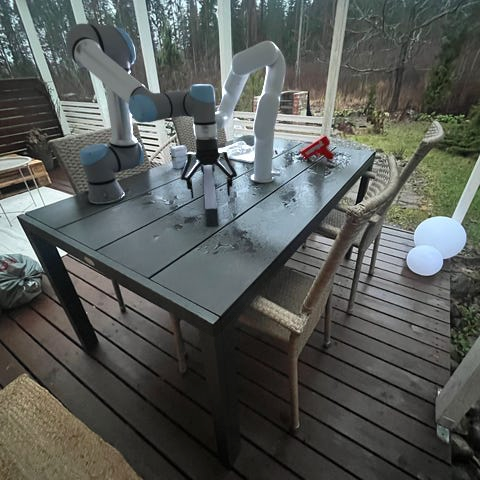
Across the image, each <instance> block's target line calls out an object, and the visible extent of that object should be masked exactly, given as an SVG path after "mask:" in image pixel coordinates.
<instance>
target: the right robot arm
mask: <svg viewBox="0 0 480 480" xmlns="http://www.w3.org/2000/svg"><path fill="white" fill-rule="evenodd" d="M285 59H286V58H285V57H284V55H283V53H282V51H281V50H280V49H279V47H278V46H277V45H276V44H275V43H274V42H273V41H271V40H264V41H261V42H258V43H257V44H254V45H253V46H250V47H248V48H246V49H244V50H242V51H240V52H237V53H235V54H234V55H233V57H232V58H231V61H230V70H229V72H228V74H227V77H226V80H225V82H224V84H223V86H222V98H221V100H220V103H219V106H218V108H217V109H216V110H217V111H216V124H217V131H219V130H222V129H224V128H225V127H226V126H227V124H229V122H230V120H231V117H232V115H233V114H234V111H235V108H236V106H237V103H238V101H239V100H240V97H241V94H242V92H243V91H244V88H245V85H246V83H247V81H248V79H249V77H250V74H252V73H255V72H256V71H258V70H259V71H260V70H261V69H263V68H265V69H266V73H265V78H264V85H263V87H262V88H263V89H262V93H261V95H260V96H259V99H258V101H257V105H256V111H255V117H254V122H253V126H252V130H253V131H252V132H253V135H254V145H253V146H254V162H253V174H252V175H251V176H250V180H251V181H252V182H255V183H260V184H267V183H271V182H274V180H275V177H281V174H282V173H281V172H278V171H273V159H274V158H273V155H274V152H273V151H274V140H275V129H276V128H275V127H276V122H277V119H278V115H279V111H280V106H281V97H282V92H283V88H284V83H285V78H286V71H287V65H286V60H285ZM194 137H195V136H194ZM196 138H197V137H195V139H196ZM195 139H194V140H195ZM218 160H219V162H220V161H222V160H221V158H220V157H219V158H218ZM197 161H198V159H197V158H196V157H194V158H193V162H194V163H195V164H196V163H197ZM215 166H217V165H216V164H213V165H212V170H213V175H214V173H215V172H216V171H215V170H216V169H215ZM199 168H200V171H201V173H202V175H204V168H203V165H201V166H200V167H199Z"/></svg>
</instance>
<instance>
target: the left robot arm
mask: <svg viewBox="0 0 480 480" xmlns="http://www.w3.org/2000/svg"><path fill="white" fill-rule="evenodd" d="M65 47H66V50H67V53H68V55H69V56H70V58H71V60H72V61H73V62H74V63H75V64H76V65H77V66H78V67H79V68H80V69H82V70H83V71H85V72H90V73H91V74H92V75H93V76H94V77H96V78H97V79H98V80H99V81H101V82H102V84H104V91H105V97H106V103H107V110H108V117H109V124H110V131H111V136H110V137H109V139H108V141H109V145H107V144H106V143H97V144H91V145H88V146H86V147H83V148H82V149H81V150H80V151H79V153H78V155H79V159H80V164H81V166H82V169H83V172H84V175H85V177H86V181H87V184H88V190H86V191H84V193H85V194H88V196H87V198H88V201H89V203H90V204H91V205H93V206H94V205H95V206H107V205H108V206H109V205H113V204H115V203H119V202H120V201H122V200H123V199H124V198H125V197H126V195H125V191H124V190H123V188H122V187H121V185H120V184H119V182H118V180H117V177H116V174H117V173H121V172H124V171H128V170H130V169H135V168H138V167H139V166H141V165H142V164H143V162H144V158H145V153H144V149H143V147H142V145H141V143H140V142H139V141H138V140H137V138H136V137H135V136H134V134H133V133H134V131H133V123H132V122H133V121H132V118H133V119H134V121H136V122H137V123H140V124H143V123H153V122H158V121H162V120H168V119H174V118H180V117H189V118H192V124H193V134H194V137H197V138H196V139H194V143H195V152H191V151H188V152H187V162H186V164H185V167H183V169H182V172H181V175H180V180H181V181H185V182H186V188H187V190H190V196H191V199H194V197H195V196H194V194H195V193H194V185H193V179H192V178H193V176H194V175H195V174H196V172H197V171H198V170H199V168H201V167H200V166H201V165H204V166H206V165H213V164H216V165H215V166H216V167H218V168H219V169H220V171H222V172H223V174H224V175H225V176H226V192H227V194H226V195H227V197H231V188H233V179H234V178H237V177H238V174H237V171H236V169H235V168H234V166H233V164H232V162H231V161H230V160H231V159H230V158H228V155H227V151H226V150H224V151H222V152H219V151H218V149H219V144H218V143H219V142H218V137H217V136H218V130H217V124H216V112H217V111H216V110H217V108H216V101H217V100H216V94H215V88H214V86H213V85H212V84H209V83H207V84H206V83H204V84H203V83H199V84H191V85H190V87H189V91H187V90H186V91H185V90H178V89H176V90H168V91H165V92H153V91H151V89H149V88H147V87H146V86H145V85H144V84H143V83H141V82H140V81H139V80H138V79H136V77H134V76H132V74H130V73H131V66H132V65H134V63H135V61H136V49H135V45H134V42H133V40H132V38H131V36H130V35H129V33H127V32H126V30H125V29H123V28H121V27H118V26H113V25H104V24H103V25H102V24H89V23H81V22H80V23H76V24H75V25H72V26H71V27H70V28H69V30H67V33H66V36H65ZM220 155H221V156H222V157H221V156H220ZM195 157H196V158H197V160H198V161H197V163H196V162H195V165H193V167H192V168H191V170H190V171H189V173H188V170H189V167H190V164H191V162H192V160H194V159H195ZM220 157H221V158H222V159H224V160H225V163H226V164H227V166H228V168H229V170H230V171H231V172H230V171H229V170H228V169H227V168H226V167H225V166H224V164H222V163H221V162H220V161H219V160H218V158H220ZM187 173H188V174H187Z"/></svg>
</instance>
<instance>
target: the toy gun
mask: <svg viewBox="0 0 480 480" xmlns="http://www.w3.org/2000/svg"><path fill="white" fill-rule="evenodd" d="M330 143H331V141H330V139H329V138H328V136H327V135H326V134H325V135H323V136H321V137H320V138H318V139H317V140H315V141H314V142H312V143H311V144H309V145H307V146H306V147H304V148H303V149H301V150H300V151H299V154H300V155H301V157H302V158H303V157H305V158H303V160H305V161H307V160H308V159H309V158H310V157H313V156H315V157H317V158H318V157H320V156H323V157H325V158H326V159H327V162H330V160H328V159H332V160H333V159H334V157H335V153H334V152H332V151H331V150H330V149H329V148H328V146H330Z"/></svg>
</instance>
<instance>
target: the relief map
mask: <svg viewBox="0 0 480 480" xmlns="http://www.w3.org/2000/svg"><path fill="white" fill-rule="evenodd" d="M254 146H255V145H252V146H251V145H248V144H247V143H246V142H245V141H244V140H243V141H241V140H239V141H237V142H236V143H233V144H230V145H227V146H225V147H218V151H219V152H222V151H224V150H226V151H227V155H228V158H229V160H231V159H232V160H235V161H240V162H244V163H248V164H249V163H250V164H252V163H254ZM273 153H274V150H273ZM219 157H221V158H222V156H221V155H220V156H219Z"/></svg>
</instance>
